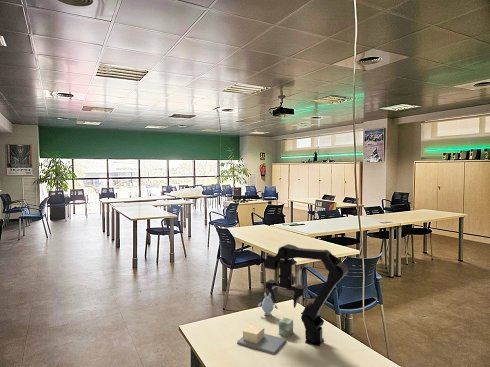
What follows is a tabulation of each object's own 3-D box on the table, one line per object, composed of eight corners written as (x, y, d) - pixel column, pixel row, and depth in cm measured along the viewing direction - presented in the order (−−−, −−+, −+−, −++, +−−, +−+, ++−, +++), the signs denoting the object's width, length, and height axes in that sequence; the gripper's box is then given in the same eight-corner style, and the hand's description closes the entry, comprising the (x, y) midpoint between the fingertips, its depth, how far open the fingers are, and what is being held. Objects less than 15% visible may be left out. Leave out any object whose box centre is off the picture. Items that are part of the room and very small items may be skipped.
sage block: (293, 332, 157) (293, 319, 157) (289, 336, 153) (288, 323, 153) (283, 329, 160) (283, 317, 160) (278, 334, 155) (278, 321, 155)
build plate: (286, 341, 149) (285, 330, 149) (274, 354, 138) (274, 342, 138) (250, 332, 158) (250, 321, 158) (237, 343, 148) (237, 332, 147)
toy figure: (278, 313, 177) (278, 291, 177) (276, 318, 171) (276, 295, 171) (259, 311, 180) (258, 289, 180) (256, 316, 174) (256, 294, 174)
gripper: (311, 270, 157) (310, 303, 158) (274, 264, 167) (274, 295, 168) (302, 277, 148) (302, 312, 149) (264, 270, 157) (264, 303, 158)
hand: (285, 305), depth 156 cm, fingers open, 9 cm apart
